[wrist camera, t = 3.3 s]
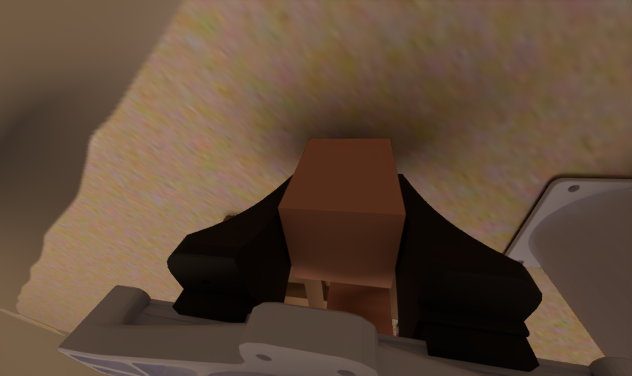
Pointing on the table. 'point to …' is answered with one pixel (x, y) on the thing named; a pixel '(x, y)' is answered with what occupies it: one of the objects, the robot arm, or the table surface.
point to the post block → (344, 212)
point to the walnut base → (321, 292)
